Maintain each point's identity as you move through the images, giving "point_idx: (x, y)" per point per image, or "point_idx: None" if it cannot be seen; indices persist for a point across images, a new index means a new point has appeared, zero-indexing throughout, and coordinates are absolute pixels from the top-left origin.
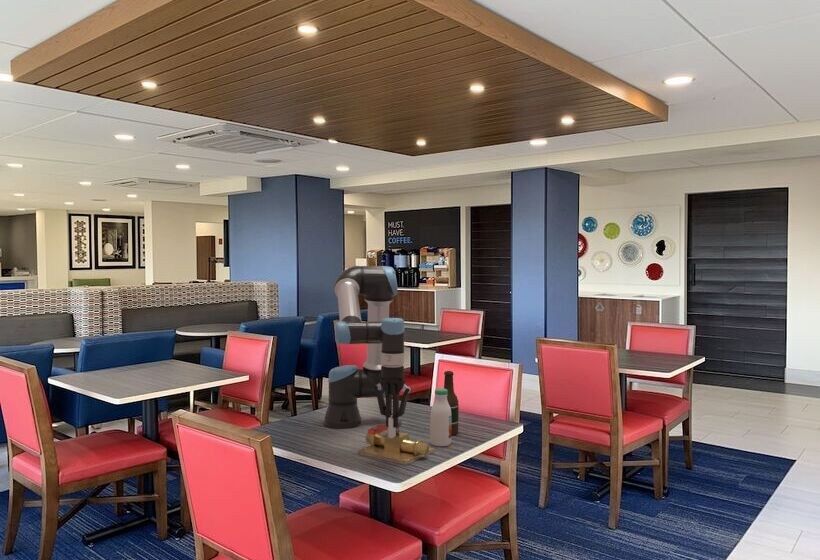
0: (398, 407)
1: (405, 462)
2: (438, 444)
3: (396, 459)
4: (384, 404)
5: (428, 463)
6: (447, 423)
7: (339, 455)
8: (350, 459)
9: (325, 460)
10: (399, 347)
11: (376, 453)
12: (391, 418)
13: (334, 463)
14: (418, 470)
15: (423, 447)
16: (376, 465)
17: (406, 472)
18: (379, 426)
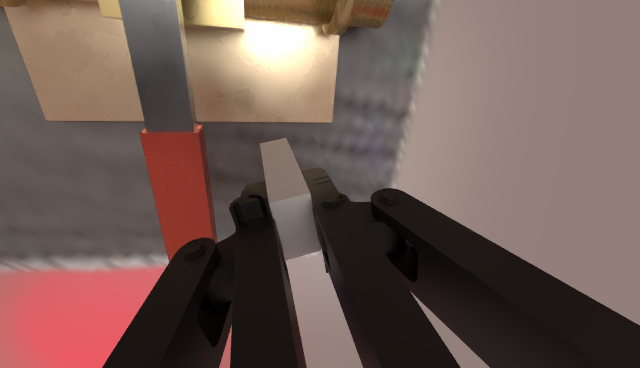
0: (380, 256)
1: (328, 121)
2: None
3: (287, 121)
4: (189, 340)
5: (391, 50)
6: None
7: (11, 177)
8: (105, 187)
9: (40, 249)
10: None
11: None
12: (310, 250)
13: (103, 250)
14: (387, 139)
15: (384, 21)
16: (242, 181)
17: (362, 175)
18: (171, 190)
